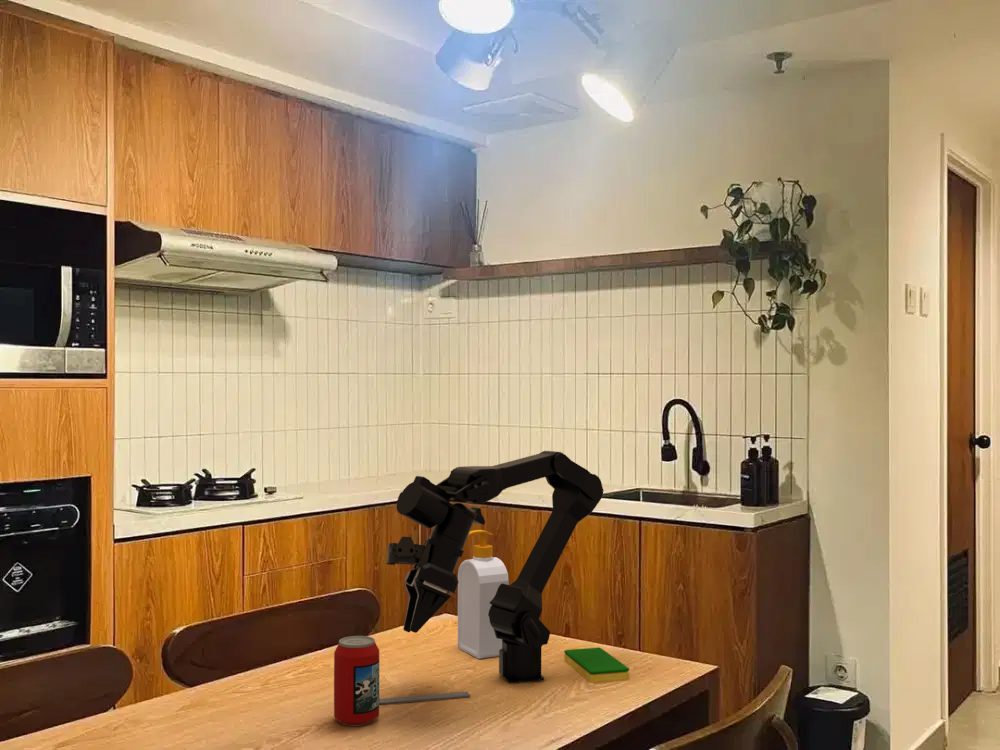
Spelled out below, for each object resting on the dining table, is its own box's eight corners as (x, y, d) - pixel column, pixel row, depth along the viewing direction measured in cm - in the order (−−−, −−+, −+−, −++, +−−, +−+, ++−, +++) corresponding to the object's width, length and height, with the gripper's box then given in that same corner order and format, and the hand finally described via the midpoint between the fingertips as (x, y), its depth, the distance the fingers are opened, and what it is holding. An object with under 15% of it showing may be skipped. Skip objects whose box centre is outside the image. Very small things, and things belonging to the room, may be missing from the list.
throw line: (467, 693, 158) (467, 691, 158) (470, 697, 156) (470, 695, 156) (350, 703, 153) (350, 701, 153) (352, 707, 151) (352, 705, 151)
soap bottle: (453, 648, 184) (454, 528, 185) (485, 643, 188) (486, 526, 188) (475, 660, 177) (476, 535, 177) (508, 655, 180) (509, 532, 180)
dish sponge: (591, 685, 164) (591, 671, 164) (563, 662, 177) (563, 649, 177) (629, 682, 165) (629, 668, 165) (600, 659, 179) (600, 646, 179)
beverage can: (370, 729, 141) (370, 647, 141) (326, 726, 143) (327, 645, 143) (385, 714, 148) (385, 635, 148) (343, 711, 149) (343, 633, 149)
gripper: (396, 525, 165) (358, 612, 160) (408, 513, 147) (366, 611, 142) (455, 550, 166) (419, 638, 161) (475, 542, 148) (435, 640, 143)
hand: (409, 631), depth 152 cm, fingers open, 9 cm apart
